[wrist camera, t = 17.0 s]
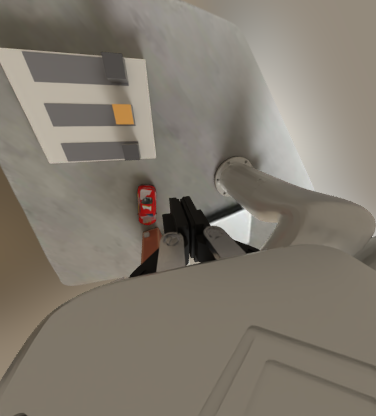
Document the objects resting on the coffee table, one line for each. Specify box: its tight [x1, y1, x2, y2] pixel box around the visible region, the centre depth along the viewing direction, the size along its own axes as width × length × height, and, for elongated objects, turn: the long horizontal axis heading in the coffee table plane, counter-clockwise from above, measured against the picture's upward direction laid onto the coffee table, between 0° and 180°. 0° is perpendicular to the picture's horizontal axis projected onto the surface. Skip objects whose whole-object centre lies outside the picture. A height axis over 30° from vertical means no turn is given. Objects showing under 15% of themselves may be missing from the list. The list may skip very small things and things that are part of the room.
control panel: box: [141, 227, 162, 264], centre depth 42 cm, size 21×7×15 cm
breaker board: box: [0, 48, 156, 163], centre depth 27 cm, size 22×17×6 cm
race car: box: [137, 185, 157, 225], centre depth 42 cm, size 13×5×4 cm, turn 170°
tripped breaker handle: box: [112, 104, 135, 124], centre depth 27 cm, size 3×3×4 cm
